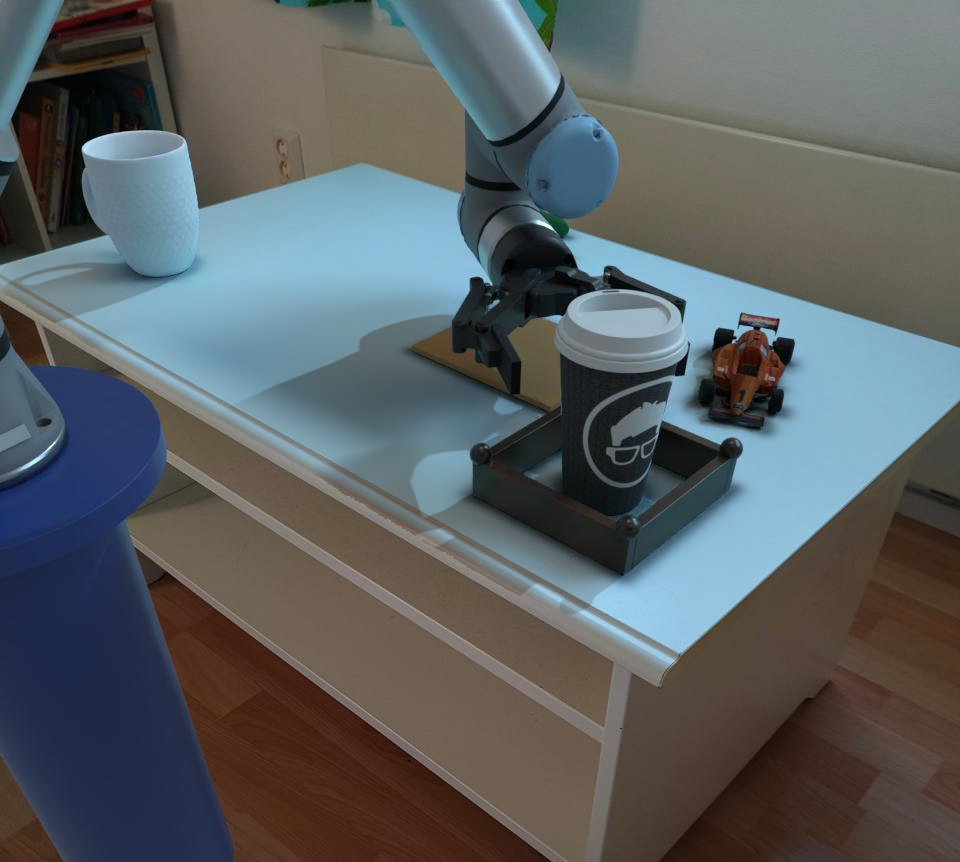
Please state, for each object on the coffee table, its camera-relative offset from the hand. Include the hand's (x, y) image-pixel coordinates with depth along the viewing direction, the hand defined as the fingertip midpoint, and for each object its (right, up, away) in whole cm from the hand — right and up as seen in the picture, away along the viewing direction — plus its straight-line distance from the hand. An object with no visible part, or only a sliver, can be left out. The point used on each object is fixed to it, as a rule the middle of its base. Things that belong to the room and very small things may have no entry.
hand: (601, 369), depth 68 cm
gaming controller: (-1, +28, +42) cm, 50 cm away
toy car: (+16, +4, +17) cm, 24 cm away
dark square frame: (+1, -9, +4) cm, 10 cm away
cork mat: (-5, +8, +21) cm, 23 cm away
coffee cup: (+1, -9, +4) cm, 10 cm away
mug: (-48, +24, +37) cm, 65 cm away
